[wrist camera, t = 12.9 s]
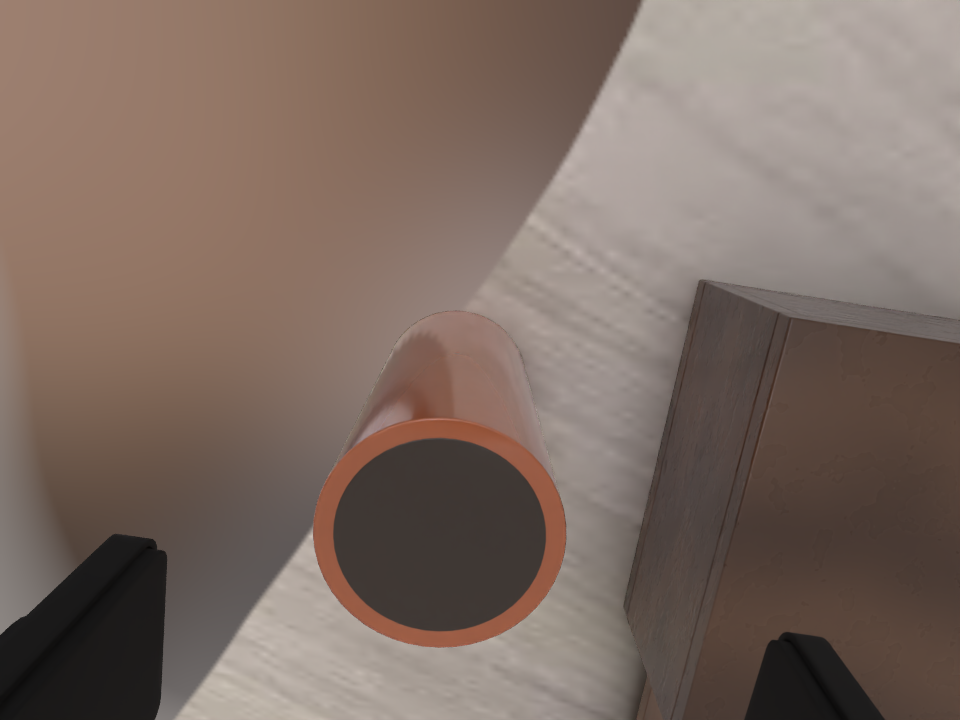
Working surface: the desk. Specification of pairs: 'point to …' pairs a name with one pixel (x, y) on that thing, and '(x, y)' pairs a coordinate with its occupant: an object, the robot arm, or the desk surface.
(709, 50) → the desk surface
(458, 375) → the pencil cup
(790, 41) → the desk surface
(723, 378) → the cabinet
